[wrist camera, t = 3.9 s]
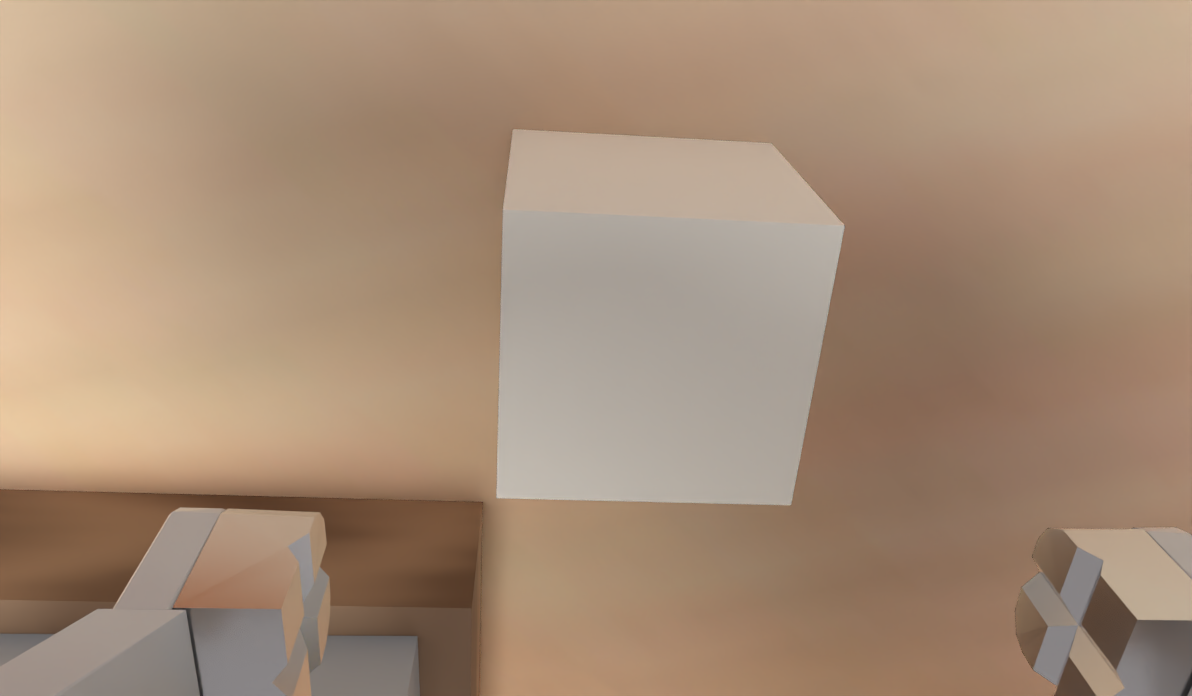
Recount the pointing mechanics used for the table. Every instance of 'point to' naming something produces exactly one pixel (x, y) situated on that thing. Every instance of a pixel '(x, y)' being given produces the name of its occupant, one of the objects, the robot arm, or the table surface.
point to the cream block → (658, 319)
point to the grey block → (322, 664)
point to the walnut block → (353, 526)
